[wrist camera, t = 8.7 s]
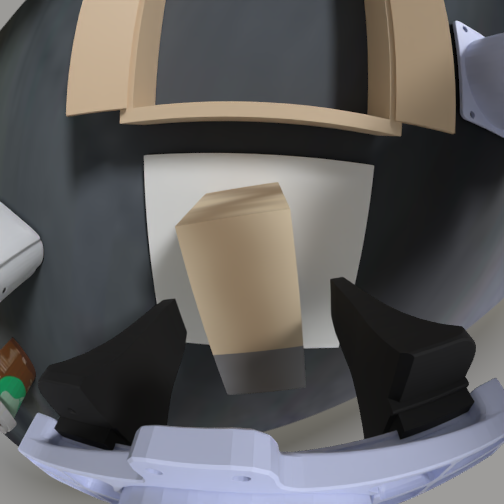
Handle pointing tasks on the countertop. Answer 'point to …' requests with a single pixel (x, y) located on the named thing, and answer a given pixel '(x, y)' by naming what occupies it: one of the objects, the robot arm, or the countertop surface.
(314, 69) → the countertop surface
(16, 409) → the food container
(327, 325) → the mat
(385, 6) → the carton
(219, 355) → the capped block
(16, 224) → the photo printer
